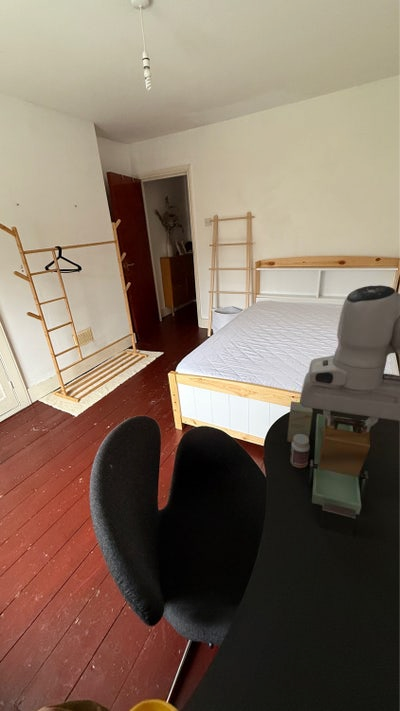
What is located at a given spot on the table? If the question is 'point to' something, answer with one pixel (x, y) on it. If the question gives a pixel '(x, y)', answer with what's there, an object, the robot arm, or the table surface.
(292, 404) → the cosmetic box
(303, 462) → the pill bottle
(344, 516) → the cradle
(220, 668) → the table surface
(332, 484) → the tray
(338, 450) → the open cardboard crate
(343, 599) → the table surface
